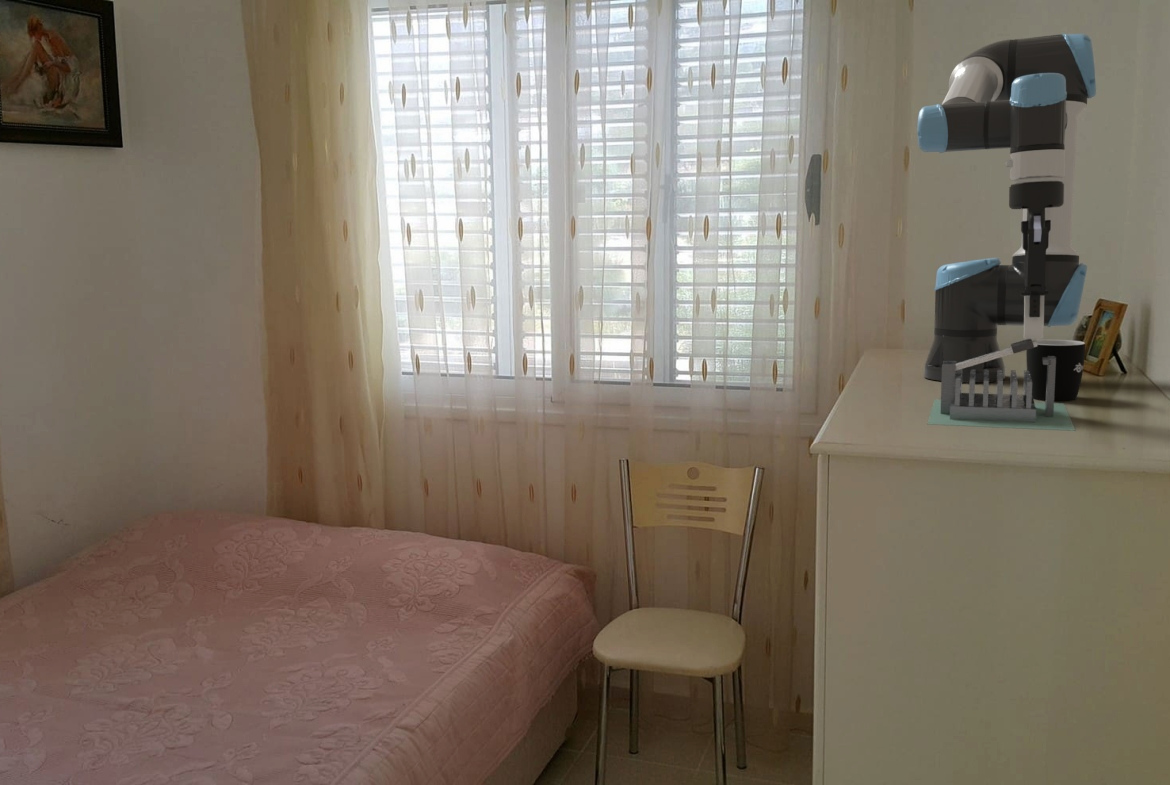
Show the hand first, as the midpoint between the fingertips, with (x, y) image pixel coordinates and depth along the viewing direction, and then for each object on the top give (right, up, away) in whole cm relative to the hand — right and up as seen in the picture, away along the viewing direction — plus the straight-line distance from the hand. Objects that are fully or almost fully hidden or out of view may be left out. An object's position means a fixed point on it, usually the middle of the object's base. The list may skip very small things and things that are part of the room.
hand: (1033, 338), depth 155 cm
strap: (-5, -3, +3) cm, 7 cm away
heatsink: (-5, -12, +4) cm, 13 cm away
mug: (+11, -10, +18) cm, 23 cm away
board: (-4, -12, +4) cm, 13 cm away
